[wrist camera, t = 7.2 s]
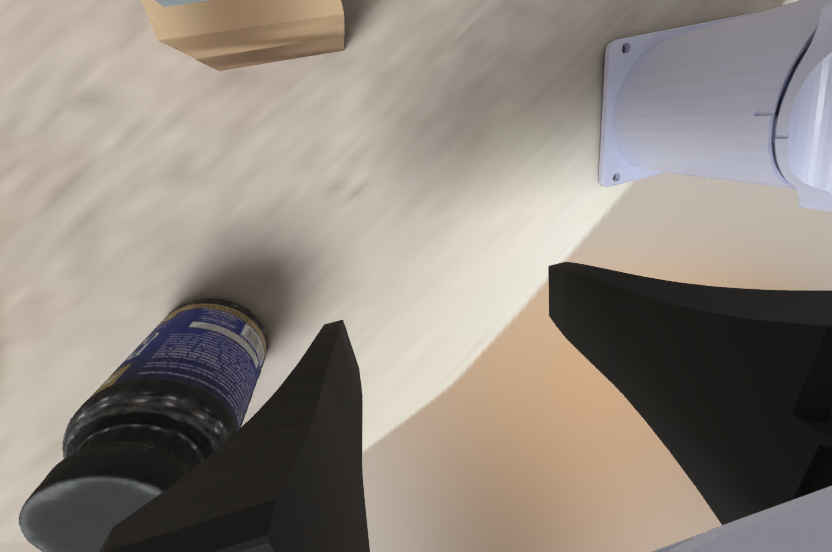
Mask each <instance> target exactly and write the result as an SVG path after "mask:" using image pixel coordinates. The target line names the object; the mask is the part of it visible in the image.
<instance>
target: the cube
mask: <svg viewBox="0 0 832 552" xmlns="http://www.w3.org/2000/svg"><path fill="white" fill-rule="evenodd" d="M155 1H156V2H158V3H159V4H161V5H162V6H164V7H168V6H175V5H182V4H188V3H195V2H202V1H209V0H155Z"/></svg>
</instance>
